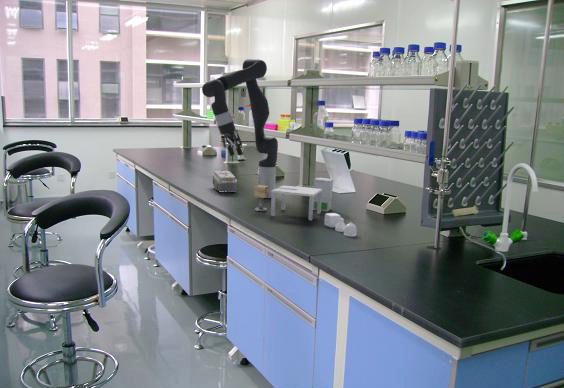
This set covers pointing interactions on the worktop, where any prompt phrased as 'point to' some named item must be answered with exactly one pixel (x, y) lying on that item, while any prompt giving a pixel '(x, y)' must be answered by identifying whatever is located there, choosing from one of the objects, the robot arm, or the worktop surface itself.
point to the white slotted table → (297, 191)
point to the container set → (340, 224)
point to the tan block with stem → (261, 196)
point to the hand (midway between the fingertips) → (236, 155)
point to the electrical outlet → (224, 181)
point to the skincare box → (323, 193)
